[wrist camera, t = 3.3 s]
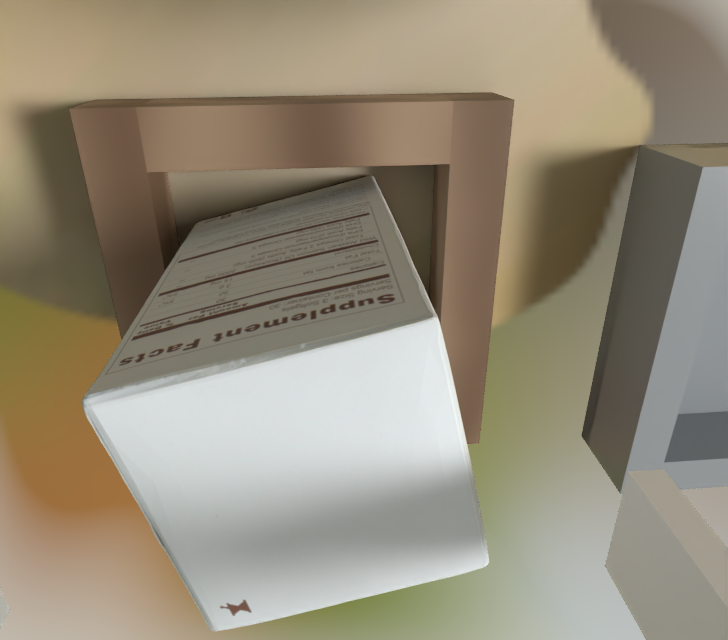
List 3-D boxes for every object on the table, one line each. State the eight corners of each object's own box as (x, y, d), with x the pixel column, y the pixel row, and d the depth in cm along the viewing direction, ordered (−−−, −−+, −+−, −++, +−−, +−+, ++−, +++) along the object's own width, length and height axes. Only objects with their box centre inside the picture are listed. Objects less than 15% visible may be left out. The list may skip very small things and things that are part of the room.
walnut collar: (163, 426, 26) (149, 463, 24) (96, 100, 20) (68, 108, 18) (465, 409, 27) (479, 443, 25) (492, 92, 21) (514, 99, 19)
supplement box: (413, 333, 25) (497, 578, 14) (250, 372, 25) (202, 645, 14) (377, 167, 22) (449, 314, 11) (189, 215, 22) (63, 408, 11)
